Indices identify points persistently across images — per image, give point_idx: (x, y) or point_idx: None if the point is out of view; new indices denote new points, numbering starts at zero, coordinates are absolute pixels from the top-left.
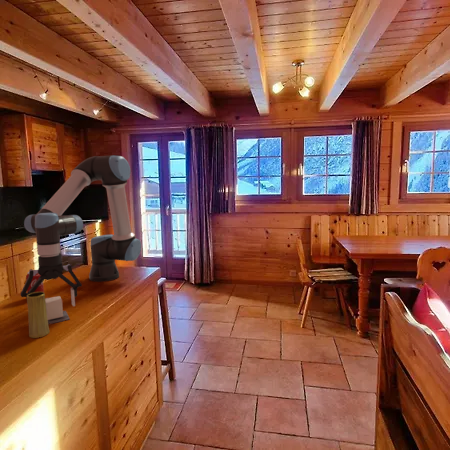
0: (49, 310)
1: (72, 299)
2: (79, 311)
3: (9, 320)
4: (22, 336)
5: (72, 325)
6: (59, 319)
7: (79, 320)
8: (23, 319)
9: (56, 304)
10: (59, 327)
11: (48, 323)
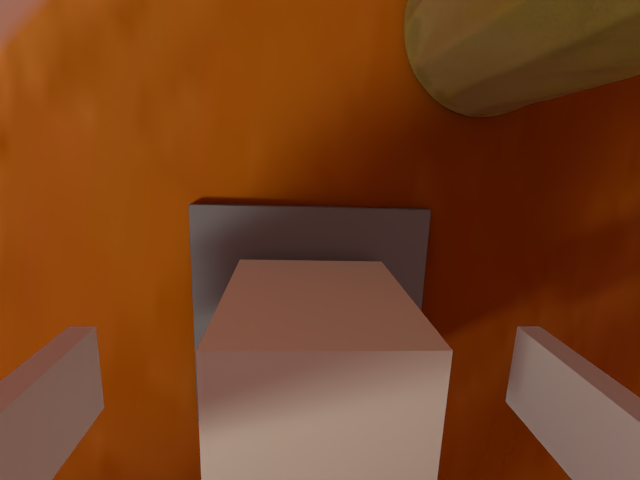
0: (380, 295)
1: (39, 387)
2: None
3: None
4: None
5: (184, 29)
6: (279, 241)
7: (103, 118)
8: (520, 434)
9: (294, 321)
10: (305, 66)
11: (380, 208)
